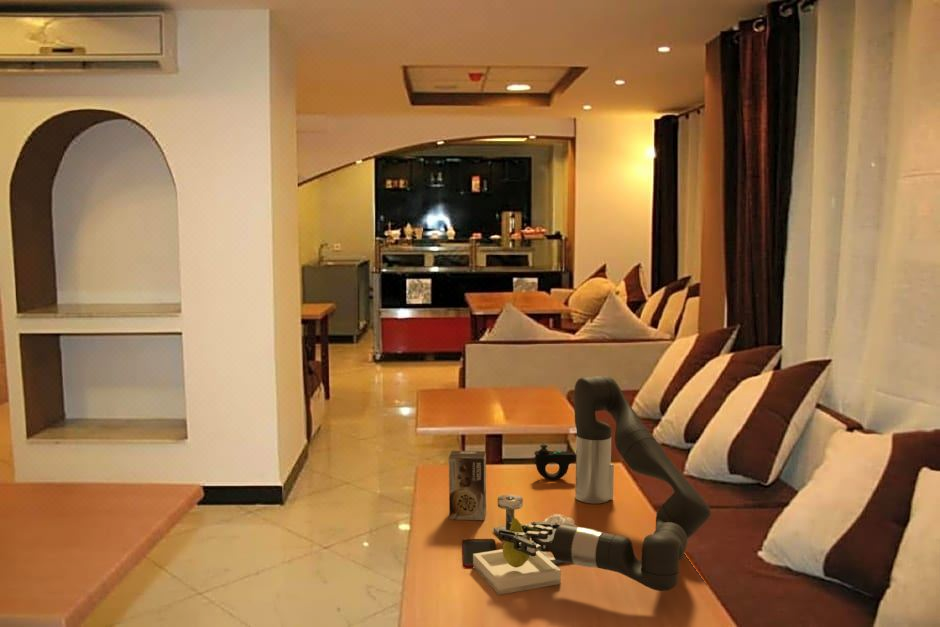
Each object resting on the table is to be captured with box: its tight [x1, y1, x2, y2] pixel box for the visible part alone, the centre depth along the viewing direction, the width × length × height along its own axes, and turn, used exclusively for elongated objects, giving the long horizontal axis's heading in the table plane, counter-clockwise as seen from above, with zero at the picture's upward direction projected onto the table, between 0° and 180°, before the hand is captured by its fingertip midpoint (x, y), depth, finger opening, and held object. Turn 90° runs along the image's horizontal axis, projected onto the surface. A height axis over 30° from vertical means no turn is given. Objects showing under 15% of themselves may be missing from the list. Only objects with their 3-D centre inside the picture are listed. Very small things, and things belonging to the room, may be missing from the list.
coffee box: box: [448, 450, 487, 521], centre depth 210 cm, size 9×6×16 cm
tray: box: [473, 548, 562, 596], centre depth 176 cm, size 14×14×3 cm
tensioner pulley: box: [493, 494, 524, 537], centre depth 198 cm, size 6×6×9 cm
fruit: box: [502, 509, 530, 567], centre depth 175 cm, size 6×6×12 cm
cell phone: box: [461, 538, 498, 569], centre depth 187 cm, size 8×15×1 cm, turn 2°
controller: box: [533, 444, 576, 481], centre depth 239 cm, size 4×12×10 cm, turn 89°
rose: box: [543, 513, 578, 526], centre depth 200 cm, size 10×4×10 cm
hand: (504, 530), depth 176 cm, fingers closed on fruit, 3 cm apart
